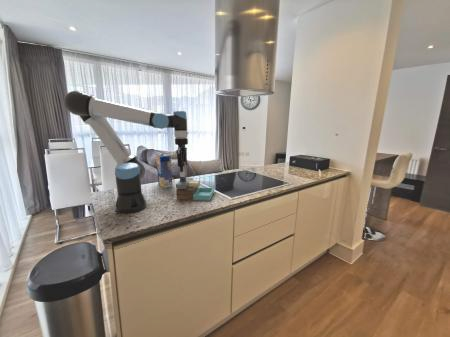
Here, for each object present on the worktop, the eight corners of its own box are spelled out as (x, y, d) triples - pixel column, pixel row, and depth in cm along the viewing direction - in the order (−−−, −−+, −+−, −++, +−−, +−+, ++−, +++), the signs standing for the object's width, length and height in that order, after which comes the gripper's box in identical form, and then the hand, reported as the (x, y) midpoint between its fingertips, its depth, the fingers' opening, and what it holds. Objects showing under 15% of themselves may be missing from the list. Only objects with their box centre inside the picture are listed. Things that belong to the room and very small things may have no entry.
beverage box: (167, 182, 159) (165, 154, 155) (172, 186, 150) (170, 156, 146) (158, 184, 156) (156, 155, 151) (163, 187, 147) (160, 157, 142)
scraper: (185, 188, 122) (185, 164, 119) (175, 188, 123) (174, 164, 119) (192, 181, 137) (192, 159, 134) (183, 181, 138) (183, 159, 135)
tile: (197, 187, 126) (197, 183, 126) (188, 187, 127) (188, 182, 126) (200, 185, 132) (199, 180, 131) (190, 184, 133) (190, 180, 132)
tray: (209, 200, 122) (209, 195, 121) (193, 199, 123) (193, 195, 123) (214, 192, 137) (214, 187, 136) (199, 191, 138) (199, 187, 137)
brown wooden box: (192, 199, 124) (192, 189, 123) (176, 199, 125) (176, 189, 124) (198, 192, 137) (198, 183, 136) (183, 191, 138) (183, 182, 137)
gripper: (183, 138, 116) (185, 179, 121) (190, 136, 131) (192, 173, 136) (170, 138, 117) (172, 179, 121) (179, 137, 132) (181, 173, 137)
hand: (183, 176), depth 129 cm, fingers closed on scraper, 3 cm apart
